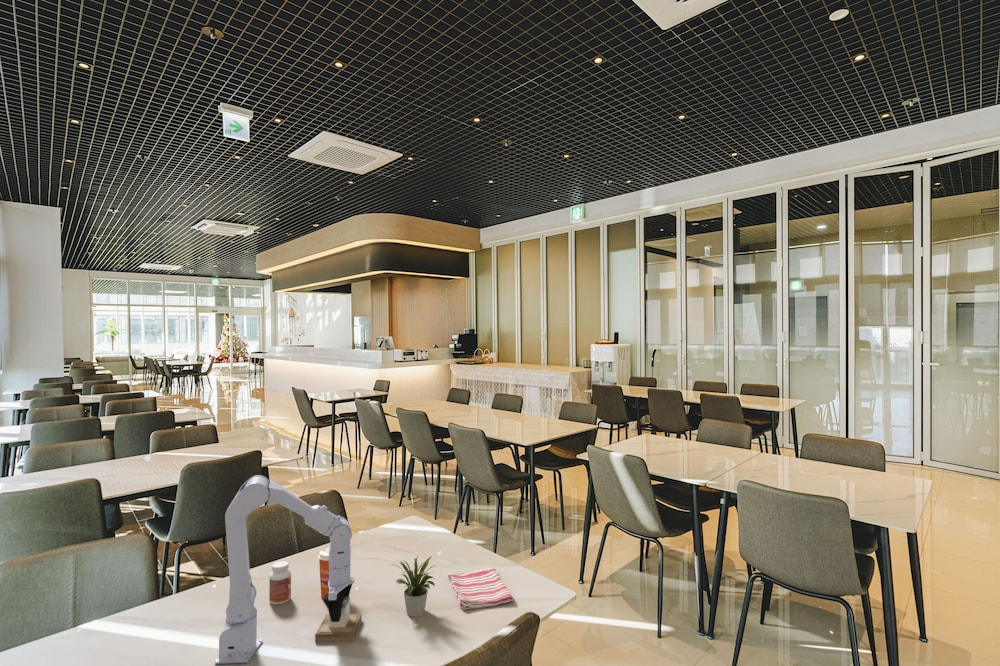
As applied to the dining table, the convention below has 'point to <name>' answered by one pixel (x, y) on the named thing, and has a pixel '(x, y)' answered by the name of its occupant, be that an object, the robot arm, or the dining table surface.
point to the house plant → (416, 588)
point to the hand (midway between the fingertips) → (339, 613)
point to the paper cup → (324, 571)
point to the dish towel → (479, 589)
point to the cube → (342, 615)
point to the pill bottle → (280, 583)
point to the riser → (338, 630)
